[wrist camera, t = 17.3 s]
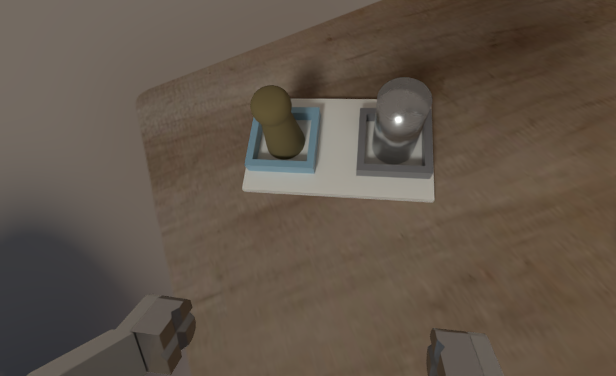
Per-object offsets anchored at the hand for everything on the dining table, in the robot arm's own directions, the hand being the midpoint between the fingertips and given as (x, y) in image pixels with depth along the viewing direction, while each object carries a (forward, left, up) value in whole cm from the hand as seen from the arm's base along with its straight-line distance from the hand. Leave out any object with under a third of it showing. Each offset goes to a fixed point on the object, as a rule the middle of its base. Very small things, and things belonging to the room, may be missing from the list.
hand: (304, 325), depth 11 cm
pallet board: (+2, -23, -31) cm, 39 cm away
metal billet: (-6, -23, -30) cm, 39 cm away
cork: (+10, -23, -31) cm, 40 cm away
